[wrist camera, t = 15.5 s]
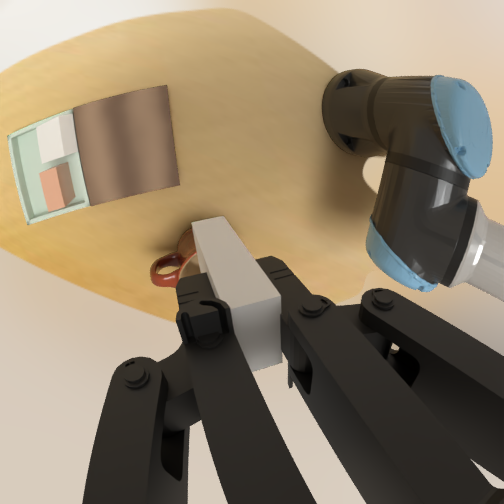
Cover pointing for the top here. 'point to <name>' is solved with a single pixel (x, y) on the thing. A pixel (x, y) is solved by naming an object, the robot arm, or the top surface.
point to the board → (126, 144)
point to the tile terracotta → (57, 186)
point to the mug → (177, 263)
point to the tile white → (57, 138)
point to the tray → (30, 166)
